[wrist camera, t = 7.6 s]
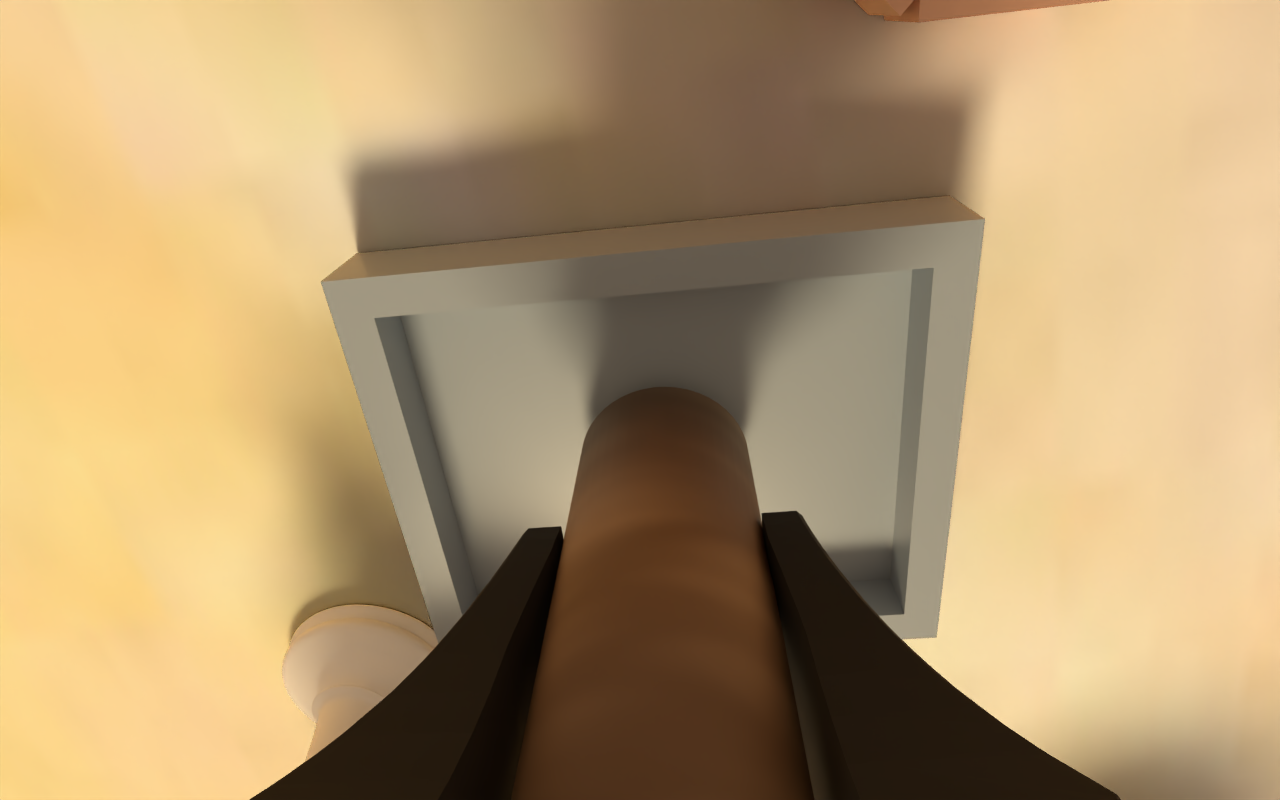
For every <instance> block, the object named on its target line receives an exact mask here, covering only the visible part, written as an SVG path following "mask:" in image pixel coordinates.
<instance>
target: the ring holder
mask: <svg viewBox="0 0 1280 800" xmlns="http://www.w3.org/2000/svg"><path fill="white" fill-rule="evenodd" d="M854 1H855V2H856V3H857V4H858V5H859V6H860V7H861V8H862V9H863V10H864V11H865V12H866V13H867V14H868V15H884V20H887V21H905V22H926V21H934V20H943V19H952V18H960V17H969V16H978V15H986V14H995V13H1003V12H1012V11H1021V10H1029V9H1038V8H1047V7H1055V6H1064V5H1073V4H1081V3H1090V2H1099V1H1107V0H854Z"/></svg>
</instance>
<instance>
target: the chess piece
mask: <svg viewBox="0 0 1280 800" xmlns="http://www.w3.org/2000/svg"><path fill="white" fill-rule="evenodd" d="M437 645H438V641H437V638H436V635H435V632H434V630H433V629H432V628H430V627H429V626H427V625H426V624H424V623H423V622H421V621H419V620H417V619H416V618H414V617H411V616H409V615H407V614H405V613H402V612H399V611H396V610H393V609H389V608H385V607H380V606H373V605H358V604H355V605H343V606H337V607H333V608H329V609H326V610H323V611H321V612H318V613H316V614H314V615H313V616H311V617H309V618H308V619H307V620H305V621H304V622H303V623H302V624H301V625H300V626H299V627H298V628H297V630H296V631H295V633H294V634H293V636H292V639H291V641H290V645H289V648H288V650H287V652H286V654H285V657H284V660H283V665H282V676H283V681H284V685H285V688H286V690H287V692H288V694H289V696H290V698H291V699H292V701H293V702H294V704H295V705H296V706H297V707H298V708H299V709H300V710H301V711H302V712H303V713H304V714H305V715H306V716H307V717H308V718H309V719H311V720H312V721H313V722H315V723H316V724H317V725H316V729H315V733H314V736H313V739H312V742H311V745H310V748H309V751H308V754H307V757H306V760H305V762H306V761H307V760H308V759H310V758H311V757H313V756H314V755H315V754H317V753H318V752H319V751H321V750H322V749H323V748H325V747H326V746H327V745H328V744H330V743H331V742H332V741H334V740H335V739H336V738H338V737H339V736H340V735H341V734H343V733H344V732H345V731H346V730H348V729H349V728H350V727H351V726H352V725H353V724H355V723H356V722H357V721H358V720H359V719H360V718H362V717H363V716H364V715H365V714H366V713H367V712H369V711H370V710H371V709H372V708H373V707H374V706H376V705H377V704H378V703H379V702H380V701H382V700H383V699H384V698H385V697H386V696H387V695H388V694H390V693H391V692H392V691H393V690H394V689H395V688H396V687H397V686H398V685H399V684H400V683H401V682H402V681H403V680H404V679H405V678H406V677H407V676H408V675H409V674H410V673H411V672H412V671H413V670H414V669H415V668H416V667H417V666H418V665H419V664H420V663H421V662H422V661H423V660H424V659H425V658H426V657H427V656H428V655H429V653H430V652H431V651H432V650H433V649H434V648H435V647H436V646H437Z"/></svg>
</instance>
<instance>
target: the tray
mask: <svg viewBox="0 0 1280 800" xmlns="http://www.w3.org/2000/svg"><path fill="white" fill-rule="evenodd" d="M984 223H985V219H984V218H983V217H981V216H980V215H978V214H977V213H975V212H974V211H972V210H971V209H969V208H968V207H966V206H965V205H963V204H962V203H960V202H959V201H957V200H956V199H954V198H953V197H951V196H950V195H949V196H939V197H929V198H918V199H908V200H898V201H888V202H877V203H867V204H857V205H847V206H836V207H826V208H816V209H806V210H795V211H785V212H775V213H765V214H754V215H744V216H734V217H724V218H713V219H703V220H693V221H683V222H672V223H662V224H652V225H642V226H631V227H621V228H611V229H601V230H590V231H580V232H570V233H559V234H549V235H539V236H529V237H518V238H508V239H498V240H488V241H477V242H467V243H457V244H447V245H436V246H426V247H416V248H406V249H395V250H385V251H375V252H365V253H356V254H355V255H354V256H353V257H351V258H350V259H349V260H348V261H346V262H345V263H344V264H343V265H341V266H340V267H339V268H338V269H336V270H335V271H334V272H333V273H331V274H330V275H329V276H328V277H326V278H325V279H324V280H322V281H321V284H322V287H323V290H324V293H325V296H326V299H327V303H328V306H329V309H330V312H331V315H332V318H333V321H334V324H335V327H336V330H337V333H338V336H339V339H340V343H341V346H342V349H343V352H344V355H345V358H346V361H347V364H348V367H349V370H350V373H351V376H352V380H353V383H354V386H355V389H356V392H357V395H358V398H359V401H360V404H361V407H362V410H363V413H364V416H365V420H366V423H367V426H368V429H369V432H370V435H371V438H372V441H373V444H374V447H375V450H376V453H377V456H378V460H379V463H380V466H381V469H382V472H383V475H384V478H385V481H386V484H387V487H388V490H389V493H390V497H391V500H392V503H393V506H394V509H395V512H396V515H397V518H398V521H399V524H400V527H401V530H402V533H403V537H404V540H405V543H406V546H407V549H408V552H409V555H410V558H411V561H412V564H413V567H414V570H415V573H416V577H417V580H418V583H419V586H420V589H421V592H422V595H423V598H424V601H425V604H426V607H427V610H428V613H429V617H430V620H431V623H432V626H433V629H434V632H435V635H436V638H437V641H438V644H439V642H440V641H441V640H442V639H443V638H444V637H445V635H446V634H447V633H448V632H449V631H450V630H451V628H452V627H453V626H454V625H455V624H456V623H457V621H458V620H459V619H460V618H461V617H462V616H463V614H464V613H465V612H466V611H467V609H468V608H469V607H470V606H471V604H472V603H473V602H474V600H475V599H476V598H477V597H478V595H479V594H480V593H481V591H482V590H483V589H484V587H485V586H486V585H487V584H488V582H489V581H490V580H491V578H492V577H493V576H494V574H495V573H496V571H497V570H498V569H499V567H500V566H501V565H502V563H503V562H504V560H505V559H506V558H507V556H508V555H509V553H510V552H511V551H512V549H513V548H514V546H515V545H516V543H517V542H518V541H519V539H520V538H521V536H522V535H523V534H524V532H525V531H526V530H527V529H528V528H541V527H557V526H561V528H562V533H563V538H564V535H565V530H566V526H567V521H568V516H569V511H570V506H571V501H572V496H573V491H574V486H575V481H576V476H577V471H578V466H579V461H580V456H581V452H582V447H583V442H584V439H585V436H586V433H587V431H588V429H589V427H590V426H591V424H592V423H593V421H594V420H595V418H596V417H597V416H598V415H599V414H600V413H601V412H602V411H603V410H604V409H605V408H606V407H607V406H608V405H610V404H611V403H612V402H614V401H616V400H617V399H619V398H621V397H623V396H625V395H627V394H629V393H632V392H635V391H638V390H642V389H647V388H653V387H677V388H682V389H688V390H691V391H694V392H697V393H700V394H702V395H704V396H707V397H709V398H710V399H712V400H714V401H715V402H717V403H719V404H720V405H721V406H722V407H723V408H725V409H726V410H727V411H728V412H729V413H730V414H731V415H732V416H733V417H734V419H735V420H736V422H737V423H738V424H739V426H740V428H741V430H742V432H743V434H744V436H745V439H746V442H747V447H748V452H749V457H750V463H751V468H752V473H753V479H754V484H755V489H756V494H757V500H758V505H759V510H760V515H761V521H762V513H769V512H784V511H797V512H799V513H800V514H801V515H802V516H803V517H804V519H805V521H806V523H807V524H808V526H809V527H810V529H811V531H812V532H813V534H814V535H815V537H816V538H817V540H818V541H819V543H820V544H821V546H822V547H823V548H824V550H825V551H826V552H827V554H828V555H829V557H830V558H831V559H832V561H833V562H834V563H835V565H836V566H837V567H838V568H839V570H840V571H841V572H842V573H843V575H844V576H845V577H846V578H847V580H848V581H849V582H850V583H851V584H852V586H853V587H854V588H855V589H856V591H857V592H858V593H859V594H860V595H861V596H862V598H863V599H864V600H865V601H866V602H867V603H868V604H869V606H870V607H871V608H872V609H873V610H874V611H875V612H876V613H877V614H878V615H879V616H880V618H881V619H882V620H883V621H884V622H885V623H886V624H887V625H888V626H889V627H890V628H891V629H892V630H893V631H894V632H895V633H896V634H897V635H898V636H899V637H900V638H901V639H916V638H935V637H937V629H938V621H939V612H940V603H941V595H942V586H943V578H944V569H945V560H946V552H947V543H948V534H949V526H950V517H951V508H952V500H953V491H954V482H955V474H956V465H957V456H958V448H959V439H960V431H961V422H962V413H963V405H964V396H965V387H966V379H967V370H968V361H969V353H970V344H971V335H972V327H973V318H974V309H975V301H976V292H977V284H978V275H979V266H980V258H981V249H982V240H983V232H984Z"/></svg>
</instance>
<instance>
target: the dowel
mask: <svg viewBox="0 0 1280 800" xmlns="http://www.w3.org/2000/svg"><path fill="white" fill-rule="evenodd" d="M511 800H814V795H813V789H812V784H811V779H810V774H809V768H808V763H807V758H806V753H805V747H804V742H803V737H802V731H801V726H800V721H799V716H798V710H797V705H796V700H795V695H794V689H793V684H792V679H791V673H790V668H789V663H788V658H787V652H786V647H785V642H784V637H783V631H782V626H781V621H780V616H779V610H778V605H777V600H776V594H775V589H774V584H773V579H772V575H771V571H770V567H769V562H768V557H767V551H766V546H765V541H764V535H763V530H762V521H761V515H760V510H759V505H758V500H757V494H756V489H755V484H754V479H753V473H752V468H751V463H750V457H749V452H748V447H747V442H746V439H745V436H744V434H743V432H742V430H741V428H740V426H739V424H738V423H737V422H736V420H735V419H734V417H733V416H732V415H731V414H730V413H729V412H728V411H727V410H726V409H725V408H723V407H722V406H721V405H720V404H719V403H717V402H715V401H714V400H712V399H710V398H709V397H707V396H704V395H702V394H700V393H697V392H694V391H691V390H688V389H682V388H677V387H653V388H647V389H642V390H638V391H635V392H632V393H629V394H627V395H625V396H623V397H621V398H619V399H617V400H616V401H614V402H612V403H611V404H610V405H608V406H607V407H606V408H605V409H604V410H603V411H602V412H601V413H600V414H599V415H598V416H597V417H596V418H595V420H594V421H593V423H592V424H591V426H590V427H589V429H588V431H587V433H586V436H585V439H584V442H583V447H582V452H581V456H580V461H579V466H578V471H577V476H576V481H575V486H574V491H573V496H572V501H571V506H570V511H569V516H568V521H567V526H566V530H565V535H564V540H563V545H562V550H561V555H560V560H559V565H558V570H557V575H556V580H555V585H554V590H553V595H552V599H551V604H550V609H549V614H548V619H547V624H546V629H545V634H544V639H543V644H542V649H541V654H540V659H539V664H538V669H537V673H536V678H535V683H534V688H533V693H532V698H531V703H530V708H529V713H528V718H527V723H526V728H525V733H524V738H523V743H522V747H521V752H520V757H519V762H518V767H517V772H516V777H515V782H514V787H513V792H512V797H511Z"/></svg>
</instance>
